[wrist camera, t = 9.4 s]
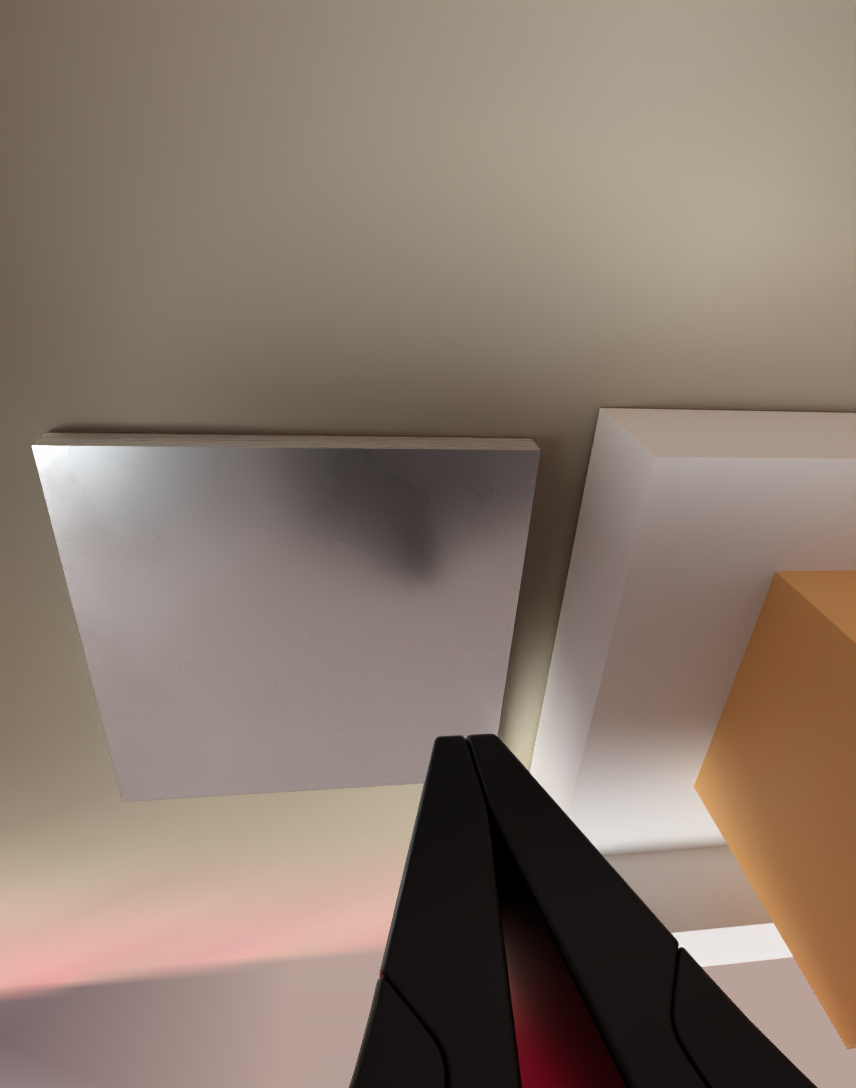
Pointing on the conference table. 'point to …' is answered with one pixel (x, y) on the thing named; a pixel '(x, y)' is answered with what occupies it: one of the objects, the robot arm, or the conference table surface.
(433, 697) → the plate
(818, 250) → the conference table surface
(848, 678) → the orange cube
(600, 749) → the white box
